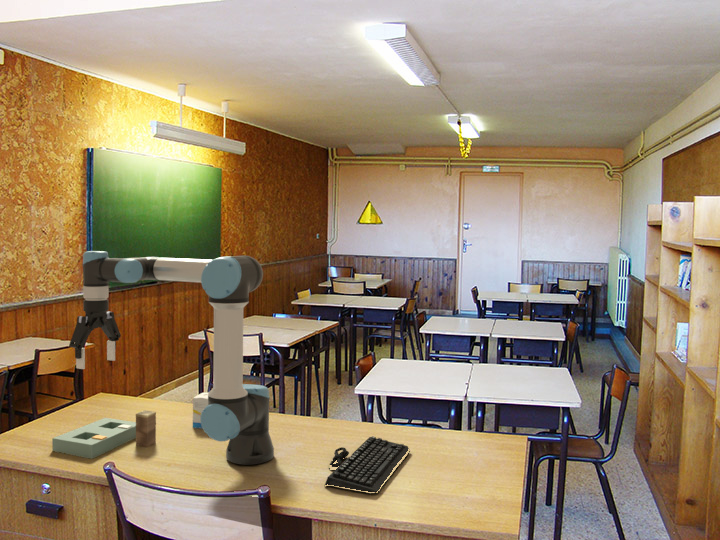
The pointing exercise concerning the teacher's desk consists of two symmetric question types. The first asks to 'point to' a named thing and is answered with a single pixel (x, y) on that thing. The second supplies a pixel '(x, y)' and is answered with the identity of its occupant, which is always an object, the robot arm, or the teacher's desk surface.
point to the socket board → (95, 438)
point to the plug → (145, 428)
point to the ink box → (199, 408)
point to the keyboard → (366, 465)
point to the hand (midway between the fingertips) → (96, 364)
